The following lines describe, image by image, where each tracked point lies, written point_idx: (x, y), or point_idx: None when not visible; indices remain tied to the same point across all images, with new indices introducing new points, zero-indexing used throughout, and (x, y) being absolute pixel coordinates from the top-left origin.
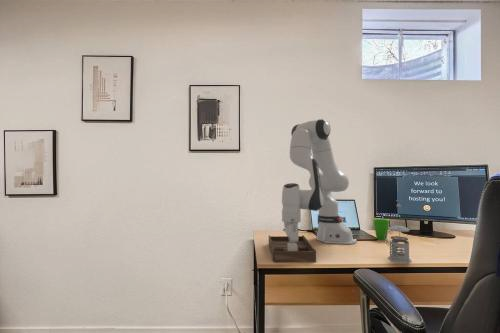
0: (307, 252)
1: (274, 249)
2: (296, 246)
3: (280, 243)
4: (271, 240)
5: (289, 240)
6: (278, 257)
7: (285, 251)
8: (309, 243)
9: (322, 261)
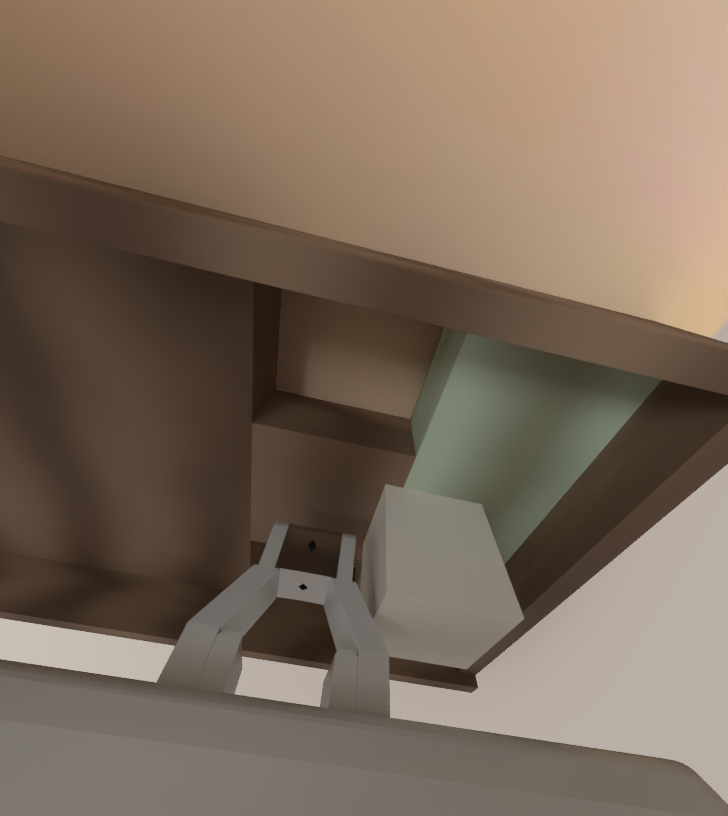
0: (678, 488)
1: (440, 681)
2: (508, 600)
3: (44, 506)
4: (110, 629)
5: (249, 623)
6: None
7: (506, 636)
8: (230, 248)
9: (706, 216)
